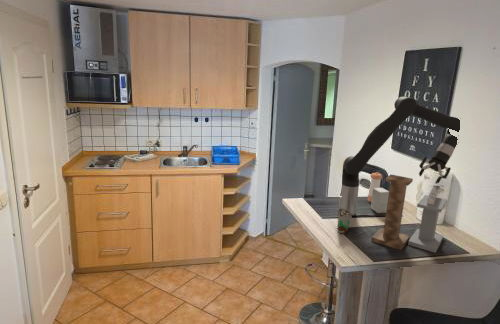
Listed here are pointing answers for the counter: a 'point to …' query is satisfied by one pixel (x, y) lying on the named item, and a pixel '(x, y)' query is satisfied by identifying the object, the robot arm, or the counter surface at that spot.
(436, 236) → the stand
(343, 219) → the food container
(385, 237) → the tall stand
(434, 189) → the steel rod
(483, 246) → the counter surface
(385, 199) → the small box
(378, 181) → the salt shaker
